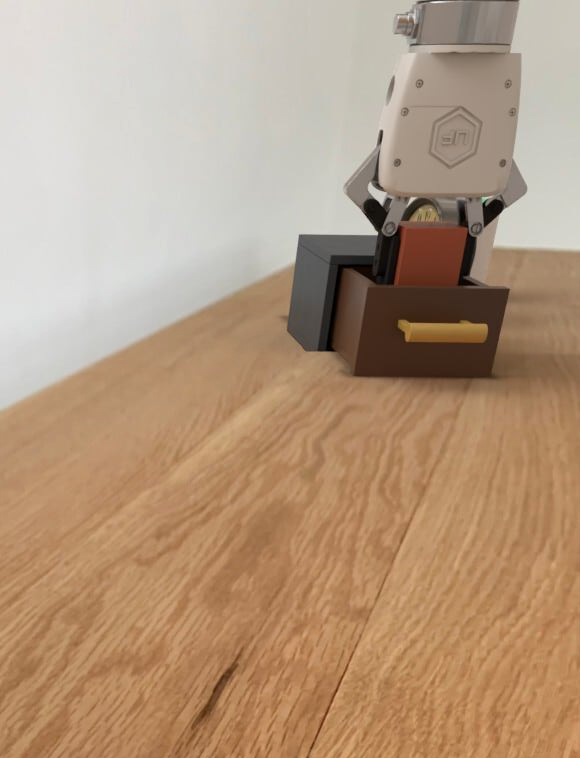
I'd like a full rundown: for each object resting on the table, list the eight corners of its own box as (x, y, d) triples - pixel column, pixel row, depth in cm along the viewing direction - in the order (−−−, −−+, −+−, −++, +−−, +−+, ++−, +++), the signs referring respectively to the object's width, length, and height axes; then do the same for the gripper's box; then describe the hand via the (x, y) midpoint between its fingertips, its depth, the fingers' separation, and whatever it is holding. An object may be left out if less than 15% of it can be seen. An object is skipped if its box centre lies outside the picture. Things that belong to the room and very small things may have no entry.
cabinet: (452, 363, 102) (473, 256, 97) (315, 361, 102) (330, 254, 97) (408, 331, 114) (426, 235, 109) (286, 330, 114) (298, 234, 109)
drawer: (508, 395, 89) (530, 298, 85) (365, 393, 89) (381, 296, 85) (441, 348, 103) (457, 264, 100) (319, 346, 103) (331, 262, 100)
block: (437, 284, 96) (448, 221, 94) (456, 293, 92) (468, 228, 89) (379, 284, 96) (389, 220, 94) (395, 293, 92) (406, 227, 89)
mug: (371, 296, 132) (387, 199, 127) (384, 286, 138) (400, 193, 133) (477, 305, 128) (497, 205, 122) (485, 294, 134) (505, 199, 128)
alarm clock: (376, 308, 125) (403, 146, 117) (420, 307, 126) (450, 146, 118) (423, 327, 116) (456, 153, 107) (470, 326, 117) (506, 153, 108)
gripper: (362, 29, 81) (327, 293, 91) (594, 30, 81) (535, 293, 91) (339, 33, 88) (308, 278, 97) (553, 33, 88) (502, 279, 97)
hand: (418, 283), depth 94 cm, fingers closed on block, 5 cm apart
